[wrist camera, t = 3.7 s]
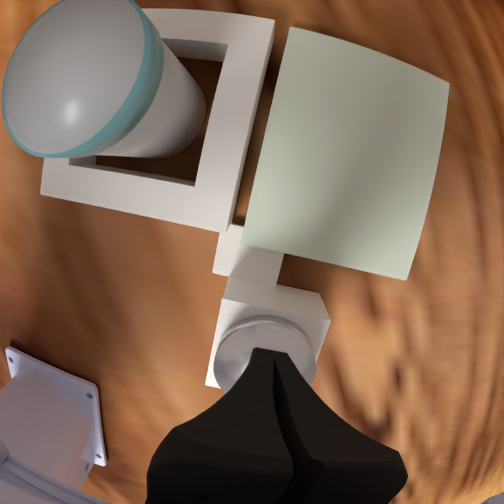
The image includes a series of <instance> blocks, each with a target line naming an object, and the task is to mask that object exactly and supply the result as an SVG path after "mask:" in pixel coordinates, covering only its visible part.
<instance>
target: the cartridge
mask: <svg viewBox="0 0 504 504" xmlns="http://www.w3.org/2000/svg"><path fill="white" fill-rule="evenodd" d="M2 113H3V118H4V122H5V125H6V128H7V130H8V132H9V134H10V136H11V137H12V139H13V140H14V142H15V143H16V144H17V145H18V146H19V147H20V148H21V149H23V150H24V151H26V152H27V153H29V154H31V155H34V156H37V157H42V158H81V157H88V156H92V155H107V156H125V157H140V158H153V159H160V158H167V157H170V156H173V155H175V154H178V153H179V152H181V151H183V150H184V149H185V148H187V147H188V146H189V145H190V144H191V143H192V142H193V141H194V140H195V139H196V137H197V136H198V134H199V132H200V131H201V129H202V126H203V124H204V120H205V115H206V102H205V98H204V95H203V92H202V90H201V88H200V87H199V85H198V84H197V83H196V81H195V80H194V79H193V78H192V76H191V75H190V74H189V73H188V71H187V70H186V69H185V68H184V66H183V65H182V64H181V63H180V61H179V60H178V59H177V58H176V56H175V55H174V54H173V53H172V52H171V50H170V49H169V48H168V47H167V45H166V44H165V43H164V42H163V41H162V39H161V37H160V35H159V32H158V30H157V29H156V27H155V26H154V24H153V23H152V22H151V20H150V19H149V18H148V17H147V16H146V14H145V13H144V12H143V11H142V10H141V8H140V7H139V6H138V5H137V4H136V3H135V2H134V1H133V0H62V1H60V2H58V3H57V4H55V5H54V6H52V7H51V8H50V9H48V10H47V11H46V12H45V13H43V14H42V15H41V16H40V17H39V18H38V19H37V20H36V21H35V22H34V23H33V24H32V25H31V27H30V28H29V29H28V30H27V32H26V33H25V34H24V36H23V37H22V39H21V40H20V42H19V43H18V45H17V47H16V49H15V50H14V52H13V54H12V57H11V59H10V61H9V64H8V67H7V70H6V73H5V77H4V82H3V88H2Z"/></svg>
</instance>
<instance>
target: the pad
mask: <svg viewBox="0 0 504 504" xmlns="http://www.w3.org/2000/svg"><path fill="white" fill-rule="evenodd" d="M449 85H450V83H448V82H446V81H444V80H442V79H440V78H438V77H436V76H434V75H432V74H430V73H428V72H425V71H423V70H421V69H419V68H417V67H414V66H412V65H410V64H407V63H405V62H403V61H400V60H398V59H395V58H393V57H390V56H388V55H385V54H382V53H380V52H377V51H374V50H371V49H369V48H366V47H363V46H360V45H357V44H354V43H351V42H347V41H344V40H341V39H338V38H334V37H331V36H327V35H323V34H320V33H316V32H312V31H308V30H304V29H300V28H295V27H291V26H290V29H289V33H288V37H287V41H286V45H285V50H284V54H283V58H282V62H281V66H280V71H279V75H278V79H277V83H276V88H275V92H274V96H273V100H272V105H271V109H270V113H269V118H268V122H267V126H266V131H265V135H264V140H263V144H262V148H261V153H260V157H259V162H258V166H257V170H256V175H255V179H254V184H253V188H252V193H251V197H250V202H249V206H248V211H247V215H246V220H245V224H244V229H243V234H242V238H241V244H246V245H250V246H255V247H259V248H264V249H268V250H273V251H277V252H282V253H286V254H291V255H295V256H300V257H304V258H309V259H313V260H317V261H322V262H326V263H331V264H335V265H340V266H344V267H348V268H353V269H357V270H362V271H366V272H370V273H375V274H379V275H384V276H388V277H392V278H397V279H401V280H405V281H406V280H407V277H408V274H409V271H410V268H411V265H412V262H413V259H414V255H415V252H416V249H417V246H418V242H419V239H420V235H421V232H422V228H423V225H424V221H425V217H426V213H427V209H428V206H429V201H430V197H431V193H432V189H433V184H434V180H435V175H436V171H437V166H438V161H439V155H440V150H441V144H442V138H443V132H444V126H445V119H446V111H447V103H448V95H449Z"/></svg>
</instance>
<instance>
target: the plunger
mask: <svg viewBox="0 0 504 504" xmlns="http://www.w3.org/2000/svg"><path fill="white" fill-rule="evenodd" d="M255 347H259V348H264V349H269V350H274V351H280V352H285V353H288V355H289V356H290V358H291V359H292V361H293V363H294V364H295V366H296V367H297V369H298V370H299V372H300V373H301V375H302V376H303V377H304V379H305V380H306V382H307V383H308V384H309V385H311V384H312V382H313V380H314V377H315V373H316V360H315V356H314V352H313V348H312V344H311V342H310V339H309V337H308V336H307V334H306V333H305V332H304V330H303V329H302V328H301V327H300V326H298V325H297V324H295V323H294V322H292V321H290V320H288V319H286V318H283V317H279V316H275V315H256V316H251V317H247V318H244V319H242V320H240V321H238V322H236V323H235V324H233V325H232V326H231V327H229V328H228V329H227V330H226V332H225V333H224V334H223V335H222V337H221V339H220V341H219V343H218V347H217V351H216V355H215V359H214V365H213V370H214V376H215V379H216V382H217V383H218V385H219V387H220V388H221V389H222V391H223V392H224V393H225V394H226V393H227V392H228V391H229V390H230V389H231V388H232V386H233V385H234V384H235V383H236V381H237V380H238V379H239V377H240V376H241V375H242V373H243V372H244V370H245V368H246V367H247V365H248V363H249V361H250V357H251V353H252V350H253V348H255Z"/></svg>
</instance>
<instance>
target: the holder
mask: <svg viewBox="0 0 504 504" xmlns="http://www.w3.org/2000/svg"><path fill="white" fill-rule="evenodd" d="M141 10H142V11H143V12H144V13H145V14H146V16H147V17H148V18H149V19H150V20H151V22H152V23H153V24H154V26H155V27H156V29H157V30H158V32H159V35H160V37H161V39H162V41H163V42H164V43H165V44H166V45H167V47H168V48H169V49H170V50H171V52H172V53H173V54H174V55H175V56H176V57H183V58H194V59H203V60H211V61H218V62H223V66H222V70H221V74H220V77H219V81H218V85H217V89H216V93H215V97H214V101H213V105H212V109H211V114H210V118H209V122H208V126H207V131H206V135H205V140H204V144H203V149H202V153H201V158H200V163H199V168H198V172H197V177H196V182H194V181H189V180H184V179H178V178H173V177H168V176H162V175H157V174H151V173H145V172H139V171H133V170H127V169H121V168H115V167H109V166H102V165H95V164H96V158H97V155H92V156H88V157H81V158H44V164H43V172H42V180H41V189H40V195H45V196H50V197H55V198H60V199H65V200H70V201H74V202H79V203H84V204H89V205H94V206H99V207H104V208H108V209H113V210H118V211H123V212H127V213H132V214H137V215H142V216H146V217H151V218H156V219H160V220H165V221H170V222H174V223H179V224H184V225H188V226H193V227H198V228H202V229H207V230H211V231H216V232H220V235H219V240H218V245H217V250H216V255H215V260H214V265H213V271H212V273H215V274H219V275H224V276H228V277H229V278H228V281H227V285H226V288H225V291H224V294H223V297H222V302H221V307H220V312H219V317H218V322H217V327H216V332H215V337H214V342H213V347H212V352H211V357H210V362H209V368H208V373H207V378H206V383H205V385H207V386H212V387H216V388H220V387H219V385H218V383H217V382H216V379H215V376H214V370H213V365H214V359H215V355H216V351H217V347H218V343H219V341H220V339H221V337H222V335H223V334H224V333H225V332H226V330H227V329H228V328H229V327H231V326H232V325H233V324H235V323H236V322H238V321H240V320H242V319H244V318H247V317H251V316H256V315H275V316H279V317H283V318H286V319H288V320H290V321H292V322H294V323H295V324H297V325H298V326H300V327H301V328H302V329H303V330H304V332H305V333H306V334H307V336H308V337H309V339H310V342H311V344H312V348H313V352H314V356H315V360H316V361H317V358H318V355H319V353H320V350H321V347H322V345H323V342H324V339H325V336H326V334H327V331H328V328H329V325H330V322H331V319H330V317H329V315H328V312H327V310H326V308H325V305H324V303H323V301H322V298H321V296H320V294H319V293H316V292H311V291H307V290H302V289H297V288H292V287H288V286H283V285H278V284H276V283H277V280H278V276H279V272H280V268H281V264H282V260H283V256H284V253H282V252H277V251H273V250H268V249H264V248H259V247H255V246H250V245H246V244H241V238H242V234H243V229H244V225H239V224H234V223H232V219H233V215H234V210H235V205H236V201H237V196H238V191H239V187H240V182H241V178H242V173H243V169H244V164H245V160H246V155H247V151H248V146H249V142H250V137H251V133H252V129H253V124H254V120H255V116H256V111H257V107H258V103H259V99H260V95H261V90H262V86H263V82H264V78H265V74H266V70H267V66H268V62H269V57H270V53H271V49H272V45H273V39H274V26H275V20H273V19H267V18H261V17H255V16H249V15H242V14H234V13H226V12H216V11H205V10H190V9H141Z"/></svg>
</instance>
